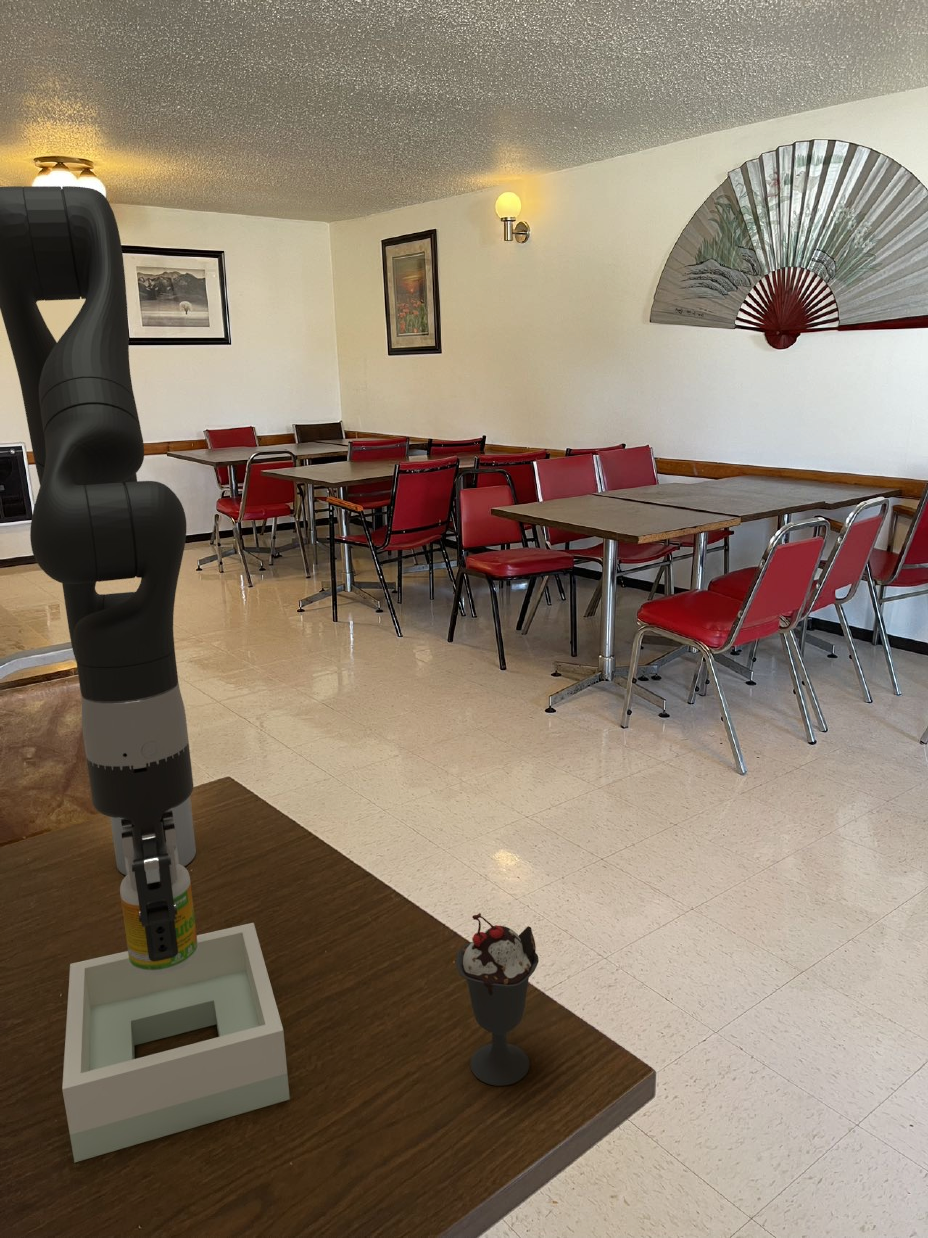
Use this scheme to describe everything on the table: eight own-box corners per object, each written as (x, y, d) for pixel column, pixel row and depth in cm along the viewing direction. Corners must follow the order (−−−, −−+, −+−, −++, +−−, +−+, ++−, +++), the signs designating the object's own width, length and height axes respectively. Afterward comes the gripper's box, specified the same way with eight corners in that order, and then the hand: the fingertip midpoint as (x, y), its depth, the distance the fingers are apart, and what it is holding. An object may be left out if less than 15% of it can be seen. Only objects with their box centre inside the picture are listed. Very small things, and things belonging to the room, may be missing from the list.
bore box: (80, 1026, 82) (70, 963, 81) (259, 982, 88) (253, 922, 86) (74, 1162, 68) (62, 1089, 66) (289, 1099, 73) (283, 1030, 71)
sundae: (448, 1084, 74) (441, 921, 70) (475, 1030, 80) (471, 877, 77) (526, 1104, 72) (523, 936, 68) (548, 1047, 78) (547, 890, 74)
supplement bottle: (178, 981, 72) (164, 870, 70) (116, 974, 73) (100, 864, 71) (209, 941, 77) (198, 836, 75) (151, 935, 78) (138, 832, 76)
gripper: (87, 720, 76) (112, 902, 80) (82, 787, 63) (113, 1001, 67) (181, 707, 78) (201, 884, 82) (195, 769, 65) (218, 976, 69)
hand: (161, 935), depth 75 cm, fingers closed on supplement bottle, 5 cm apart
